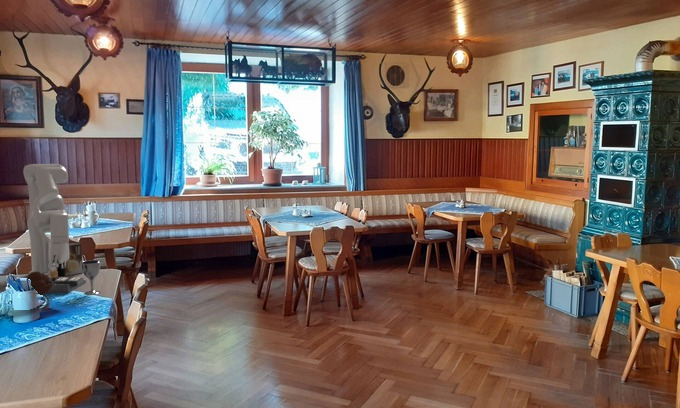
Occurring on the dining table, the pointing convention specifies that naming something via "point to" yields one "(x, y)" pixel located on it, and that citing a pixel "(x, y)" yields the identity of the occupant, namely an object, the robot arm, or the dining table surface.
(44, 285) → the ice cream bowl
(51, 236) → the robot arm
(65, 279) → the label
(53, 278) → the psu chassis
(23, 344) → the dining table surface
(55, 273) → the swing arm
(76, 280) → the label
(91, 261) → the wine glass
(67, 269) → the coffee box
